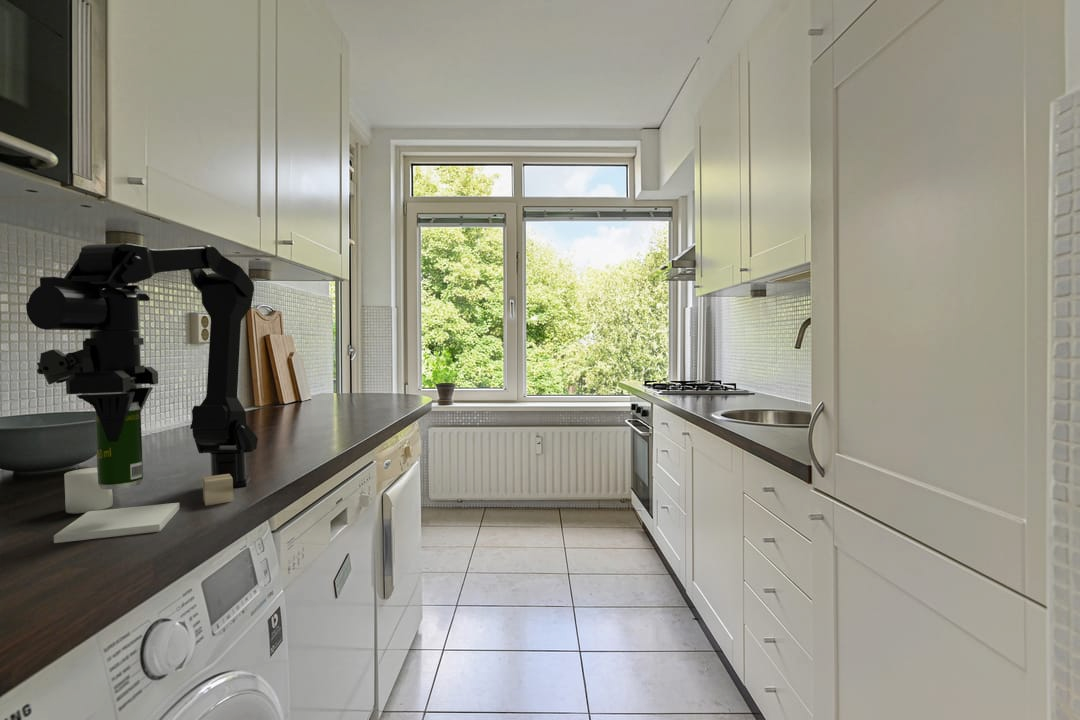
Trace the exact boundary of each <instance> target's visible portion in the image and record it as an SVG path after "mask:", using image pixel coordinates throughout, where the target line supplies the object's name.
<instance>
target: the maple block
mask: <svg viewBox="0 0 1080 720" xmlns="http://www.w3.org/2000/svg"><path fill="white" fill-rule="evenodd" d="M202 495H203V496H202V498H203V499H202V500H203V503H204V505H205V506H213V505H217V504H224V503H231V502H234V487H233V478H232V476H231V475H230V474H223V475H216V476H211V475H210V476H209V475H208V476H202Z"/></svg>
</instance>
